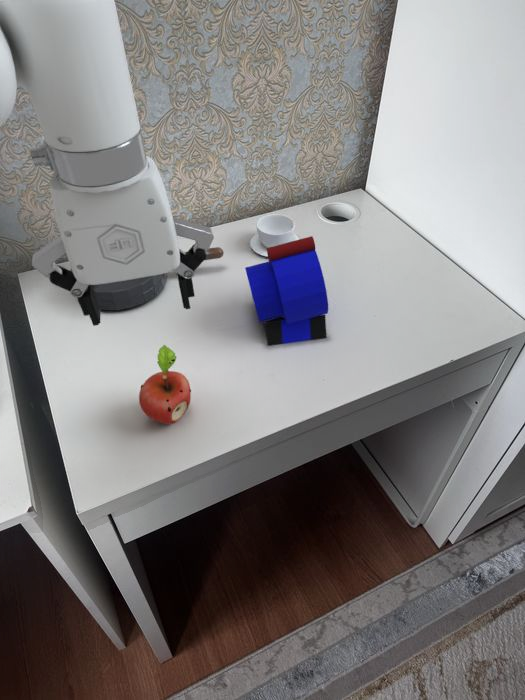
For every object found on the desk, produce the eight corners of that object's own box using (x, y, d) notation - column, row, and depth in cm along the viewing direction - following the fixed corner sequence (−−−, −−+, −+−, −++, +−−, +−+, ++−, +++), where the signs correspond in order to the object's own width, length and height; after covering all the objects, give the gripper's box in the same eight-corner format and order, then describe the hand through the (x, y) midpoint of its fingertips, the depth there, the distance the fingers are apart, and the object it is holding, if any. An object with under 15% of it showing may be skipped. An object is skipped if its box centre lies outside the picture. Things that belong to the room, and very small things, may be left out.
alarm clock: (330, 337, 77) (340, 259, 66) (254, 347, 75) (252, 270, 65) (311, 289, 85) (317, 214, 74) (243, 298, 84) (239, 222, 73)
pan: (77, 319, 80) (69, 299, 77) (79, 265, 91) (71, 245, 88) (170, 304, 83) (166, 283, 80) (161, 253, 93) (157, 233, 90)
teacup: (309, 251, 93) (311, 230, 90) (263, 264, 90) (263, 243, 87) (285, 226, 100) (286, 205, 96) (241, 238, 97) (241, 217, 93)
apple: (199, 428, 65) (191, 380, 58) (149, 441, 64) (134, 394, 56) (187, 386, 70) (178, 337, 63) (141, 398, 69) (125, 350, 61)
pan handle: (160, 269, 86) (158, 260, 84) (159, 263, 87) (157, 253, 85) (224, 259, 87) (223, 250, 86) (222, 253, 89) (221, 244, 87)
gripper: (-17, 191, 36) (58, 347, 49) (209, 161, 39) (226, 317, 51) (-4, 149, 41) (61, 301, 54) (195, 125, 44) (214, 275, 56)
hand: (142, 308), depth 52 cm, fingers open, 9 cm apart
